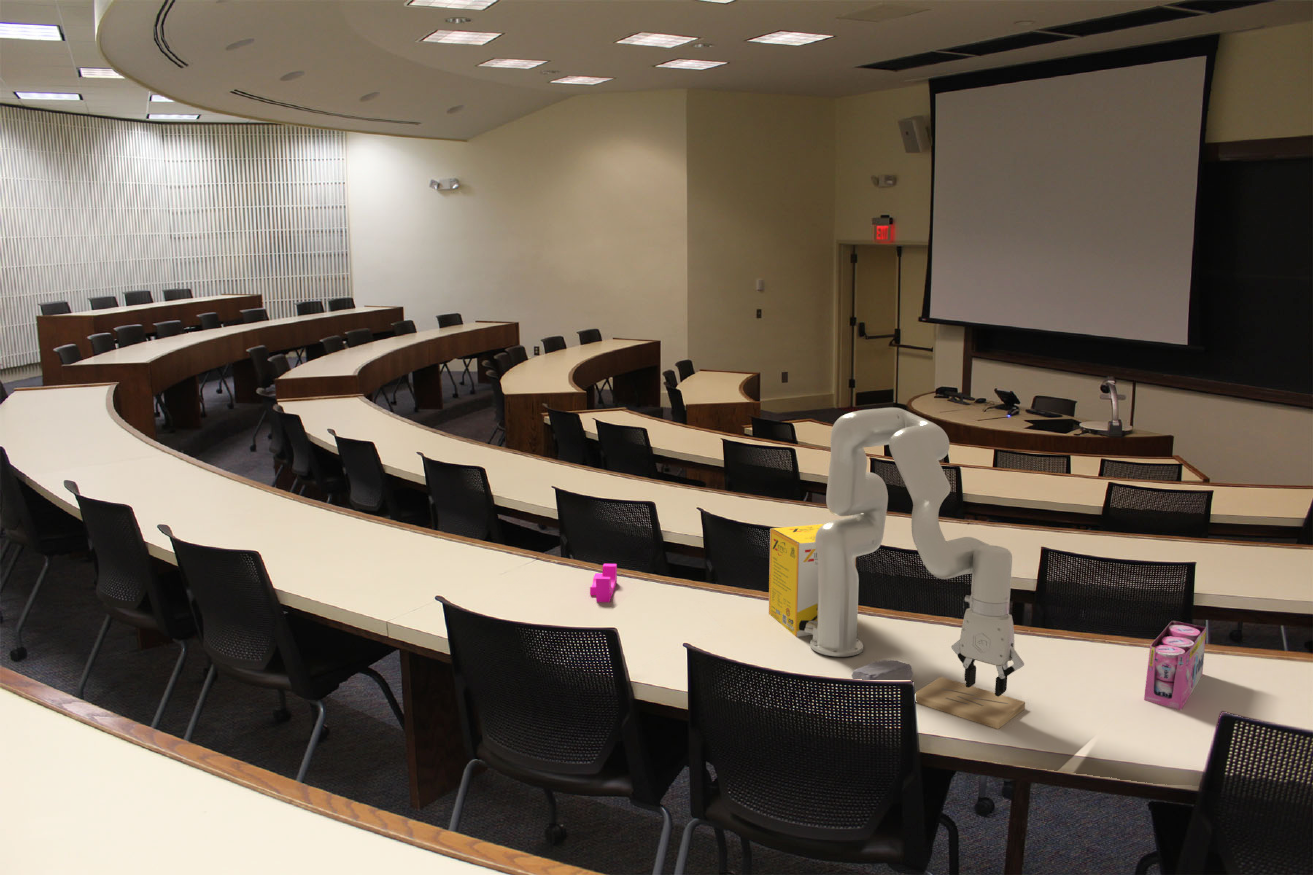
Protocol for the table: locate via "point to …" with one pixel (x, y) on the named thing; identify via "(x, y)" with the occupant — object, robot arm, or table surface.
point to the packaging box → (794, 577)
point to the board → (969, 702)
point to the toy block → (604, 583)
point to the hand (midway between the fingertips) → (984, 688)
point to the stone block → (884, 671)
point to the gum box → (1175, 664)
